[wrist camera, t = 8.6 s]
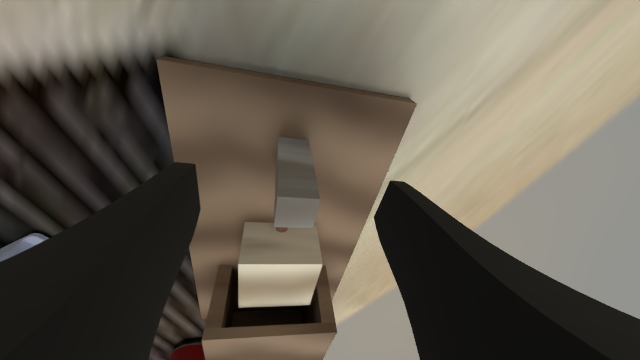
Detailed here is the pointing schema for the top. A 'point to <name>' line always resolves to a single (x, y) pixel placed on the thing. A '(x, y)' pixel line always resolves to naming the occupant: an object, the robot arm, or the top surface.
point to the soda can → (189, 351)
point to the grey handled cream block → (284, 236)
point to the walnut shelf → (259, 189)
